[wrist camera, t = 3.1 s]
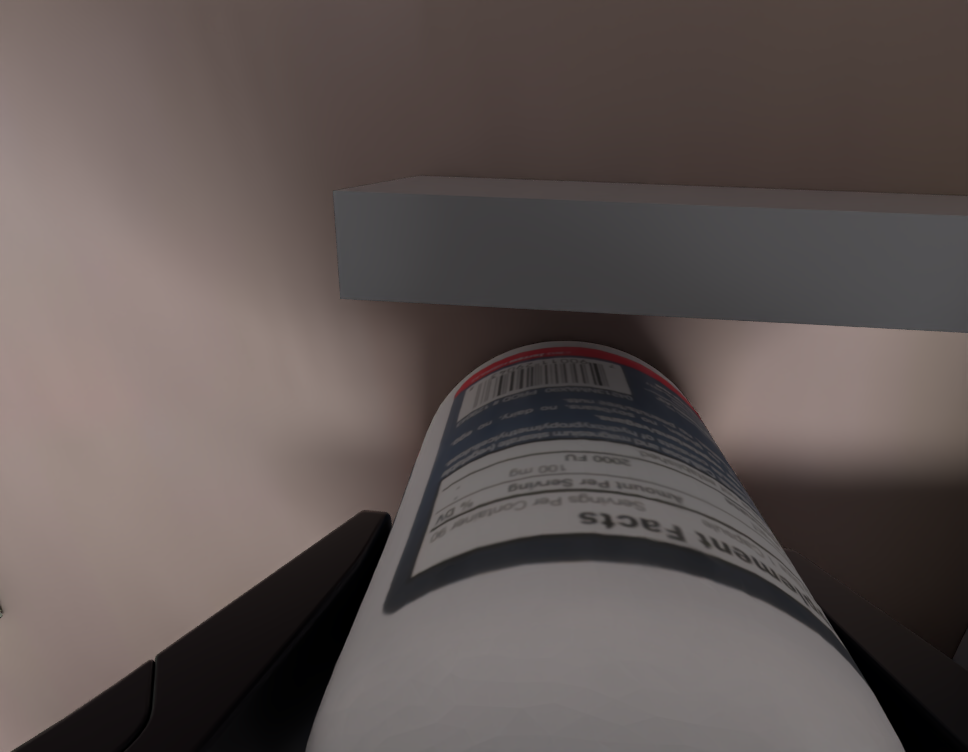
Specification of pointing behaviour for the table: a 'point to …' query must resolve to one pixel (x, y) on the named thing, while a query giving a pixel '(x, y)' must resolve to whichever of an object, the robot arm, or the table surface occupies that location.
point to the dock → (660, 252)
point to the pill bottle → (586, 586)
